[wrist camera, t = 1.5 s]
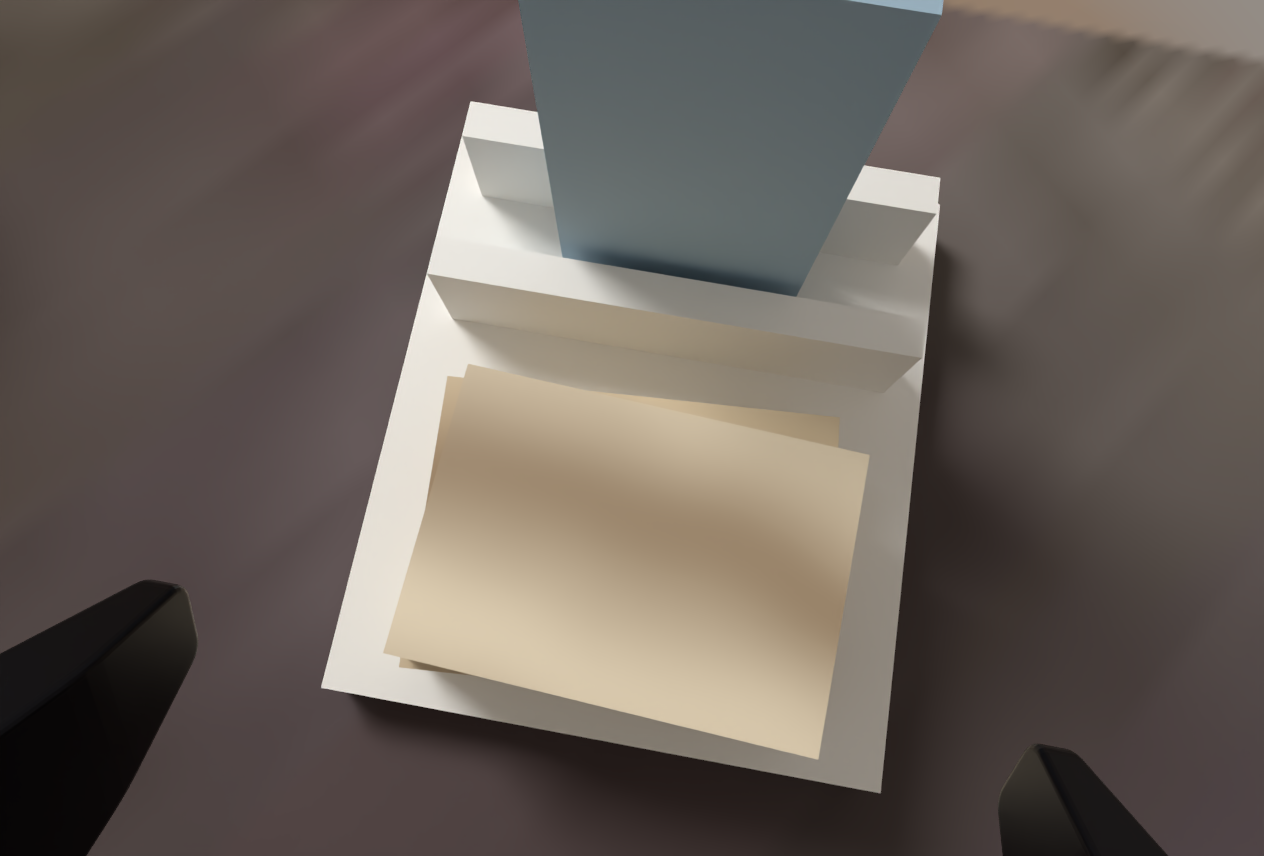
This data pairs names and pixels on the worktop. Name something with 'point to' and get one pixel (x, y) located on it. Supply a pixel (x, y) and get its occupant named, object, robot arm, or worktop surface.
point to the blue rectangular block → (714, 125)
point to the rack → (668, 369)
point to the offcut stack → (636, 555)
